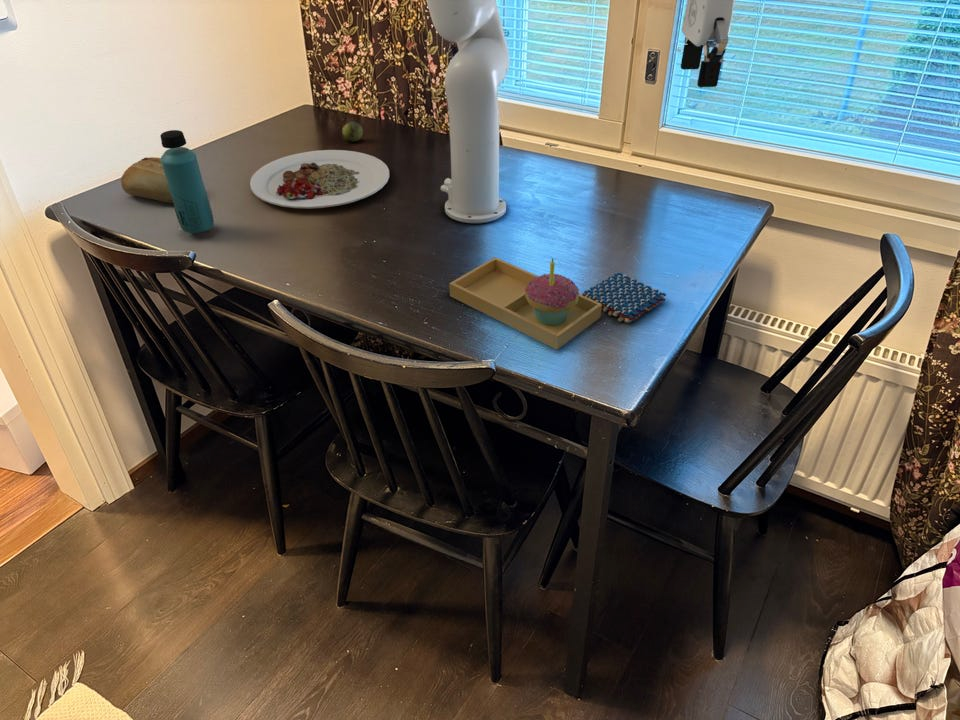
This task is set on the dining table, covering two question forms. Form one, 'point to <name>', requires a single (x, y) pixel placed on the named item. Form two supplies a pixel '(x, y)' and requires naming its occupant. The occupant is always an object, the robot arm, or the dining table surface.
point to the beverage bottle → (185, 184)
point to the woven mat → (625, 297)
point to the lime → (352, 131)
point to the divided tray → (519, 302)
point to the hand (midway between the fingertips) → (697, 77)
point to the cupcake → (551, 297)
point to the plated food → (319, 179)
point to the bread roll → (147, 180)
